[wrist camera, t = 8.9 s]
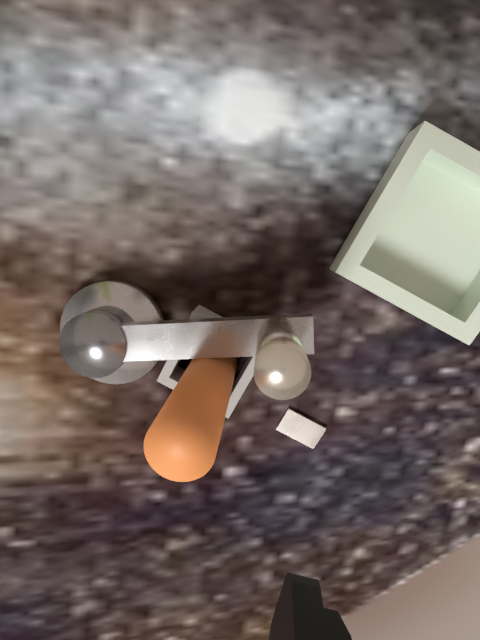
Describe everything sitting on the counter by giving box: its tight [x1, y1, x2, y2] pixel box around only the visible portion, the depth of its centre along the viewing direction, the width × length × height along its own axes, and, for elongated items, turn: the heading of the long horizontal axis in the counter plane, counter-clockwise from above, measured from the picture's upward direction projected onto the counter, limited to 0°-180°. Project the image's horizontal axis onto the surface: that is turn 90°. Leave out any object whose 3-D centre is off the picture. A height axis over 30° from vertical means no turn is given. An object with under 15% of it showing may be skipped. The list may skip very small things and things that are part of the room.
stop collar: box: [157, 305, 255, 418], centre depth 25 cm, size 5×5×2 cm
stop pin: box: [144, 357, 237, 482], centre depth 21 cm, size 3×3×11 cm
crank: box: [60, 306, 314, 400], centre depth 20 cm, size 15×4×8 cm, turn 94°
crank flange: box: [60, 280, 326, 449], centre depth 26 cm, size 7×20×1 cm, turn 62°
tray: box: [329, 121, 480, 345], centre depth 22 cm, size 9×9×2 cm
